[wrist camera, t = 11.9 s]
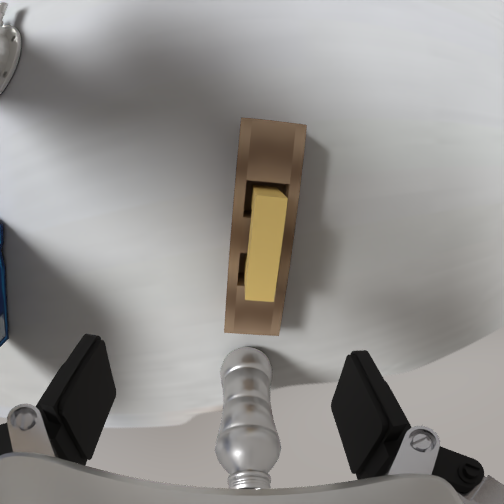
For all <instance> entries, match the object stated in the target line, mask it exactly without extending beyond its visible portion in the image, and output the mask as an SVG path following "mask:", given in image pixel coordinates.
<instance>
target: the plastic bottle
mask: <svg viewBox="0 0 504 504" xmlns="http://www.w3.org/2000/svg"><path fill="white" fill-rule="evenodd" d="M220 374H221V383H222V387H223V402H224V404H223V412H222V420H221V424H220V428H219V433H218V436H217V440H216V446H215V453H216V456H217V459H218V461H219V463H220V464H221V465H222V467H223V468H224V469H225V470H226V471H227V472H228V473H229V474H230V476H229V477H228V485H229V489H270V483H271V477H270V475H269V474H268V472H269V471H270V470H271V469H272V468H273V466H274V465H275V463H276V462H277V460H278V458H279V455H280V451H281V445H280V440H279V436H278V433H277V430H276V427H275V423H274V420H273V415H272V409H271V404H270V385H271V381H272V367H271V364H270V361H269V359H268V357H267V356H266V355H265V354H264V353H263V352H262V351H260V350H258V349H255V348H252V347H242V348H238V349H236V350H234V351H232V352H231V353H229V354H228V355H227V356H226V358H225V359H224V361H223V364H222V367H221V371H220Z"/></svg>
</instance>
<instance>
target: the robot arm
mask: <svg viewBox="0 0 504 504" xmlns="http://www.w3.org/2000/svg"><path fill="white" fill-rule="evenodd" d="M7 6H8V4H7V3H0V94H1V93H2V92H3V90H4V89H5V88H6V86H7V84H8V83H9V81H10V79H11V77H12V75H13V73H14V71H15V69H16V66H17V63H18V60H19V56H20V51H21V36H20V33H19V31H18V30H17V29H16V28H15V27H13V26H10V25H3V23H4V22H3V21H2V19H3V16H4V15H5V12H6V9H7ZM115 397H116V388H115V384H114V381H113V377H112V373H111V368H110V364H109V360H108V356H107V351H106V346H105V342H104V341H103V340H101V338H100V337H99V336H96V335H90V334H85V335H84V336H83V338H82V339H81V340H80V342H79V343H78V345H77V346H76V347H75V349H74V350H73V352H72V353H71V355H70V356H69V358H68V359H67V361H66V362H65V363H64V364H63V365H62V366H61V368H60V369H59V371H58V372H57V374H56V375H55V377H54V378H53V380H52V382H51V383H50V385H49V386H48V388H47V389H46V391H45V392H44V394H43V396H42V397H41V399H40V400H39V402H38V404H37V405H36V407H35V406H33V405H30V404H20V405H18V406H15V407H14V408H13V409H11V411H10V412H9V414H8V416H7V423H5V424H1V425H0V504H504V485H503V484H501V483H500V482H498V481H497V480H495V479H494V478H492V477H491V476H490V475H488V476H487V477H485V476H484V470H483V467H482V465H481V464H480V463H479V462H478V461H477V460H475V459H472V458H470V457H467V456H464V455H461V454H459V453H456V452H453V451H451V450H448V449H446V448H443V447H441V446H440V440H439V436H438V435H437V433H436V432H434V431H433V430H432V429H430V428H428V427H425V426H415V427H411V426H410V424H409V422H408V420H407V418H406V416H405V414H404V413H403V411H402V409H401V407H400V405H399V403H398V402H397V400H396V398H395V396H394V394H393V393H392V391H391V389H390V387H389V385H388V384H387V382H386V381H384V379H383V377H382V375H381V374H380V372H379V370H378V368H377V366H376V365H375V363H374V361H373V359H372V358H371V356H370V354H369V353H368V351H366V350H364V351H352V353H351V355H348V356H347V357H346V360H345V364H344V367H343V370H342V373H341V376H340V379H339V382H338V385H337V388H336V391H335V394H334V396H333V399H332V403H331V409H332V412H333V415H334V419H335V422H336V425H337V428H338V431H339V434H340V437H341V440H342V443H343V447H344V450H345V453H346V456H347V459H348V462H349V466H350V469H351V472H352V473H353V474H356V476H357V479H358V480H355V481H348V482H341V483H335V484H326V485H318V486H307V487H295V488H278V489H225V488H207V487H196V486H186V485H177V484H170V483H163V482H156V481H150V480H145V479H139V478H134V477H129V476H124V475H120V474H116V473H111V472H108V471H103V470H99V469H96V468H92V467H88V466H85V465H86V462H87V459H88V460H90V459H91V458H92V456H93V453H94V451H95V448H96V445H97V442H98V440H99V437H100V435H101V432H102V429H103V427H104V424H105V422H106V419H107V417H108V414H109V412H110V409H111V407H112V404H113V402H114V399H115ZM74 462H75V463H74Z"/></svg>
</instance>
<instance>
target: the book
mask: <svg viewBox="0 0 504 504" xmlns="http://www.w3.org/2000/svg"><path fill="white" fill-rule="evenodd" d="M3 242H4V241H3V225H2V224H1V223H0V347H1V346H2V345H3V344H4V343H5V342H6V341H7V340H8V339H9V335H8V321H7V302H6V283H5V265H4V261H3V257H2V252H1V249H2V245H3Z"/></svg>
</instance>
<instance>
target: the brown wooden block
mask: <svg viewBox="0 0 504 504" xmlns="http://www.w3.org/2000/svg"><path fill="white" fill-rule="evenodd" d="M306 128H307V125H303V124H296V123H288V122H280V121H272V120H263V119H252V118H241V124H240V135H239V145H238V156H237V167H236V178H235V190H234V202H233V214H232V227H231V240H230V253H229V267H228V281H227V296H226V311H225V328H224V333H238V334H254V335H273V336H279V332H280V326H281V320H282V313H283V307H284V301H285V294H286V288H287V281H288V274H289V267H290V260H291V253H292V246H293V239H294V231H295V224H296V216H297V208H298V200H299V192H300V184H301V175H302V166H303V157H304V148H305V138H306ZM252 185H261V186H271V187H277V188H278V189H279V190H280V191H281V192H282V193H283V194H284V195H285V196H286V197H287V198H288V201H287V209H286V217H285V225H284V232H283V240H282V247H281V255H280V262H279V269H278V276H277V283H276V290H275V297H274V302H266V301H252V300H245V278H244V264H245V254H246V253H247V252H248V242H249V232H250V223H251V213H252V209H251V194H252Z"/></svg>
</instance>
